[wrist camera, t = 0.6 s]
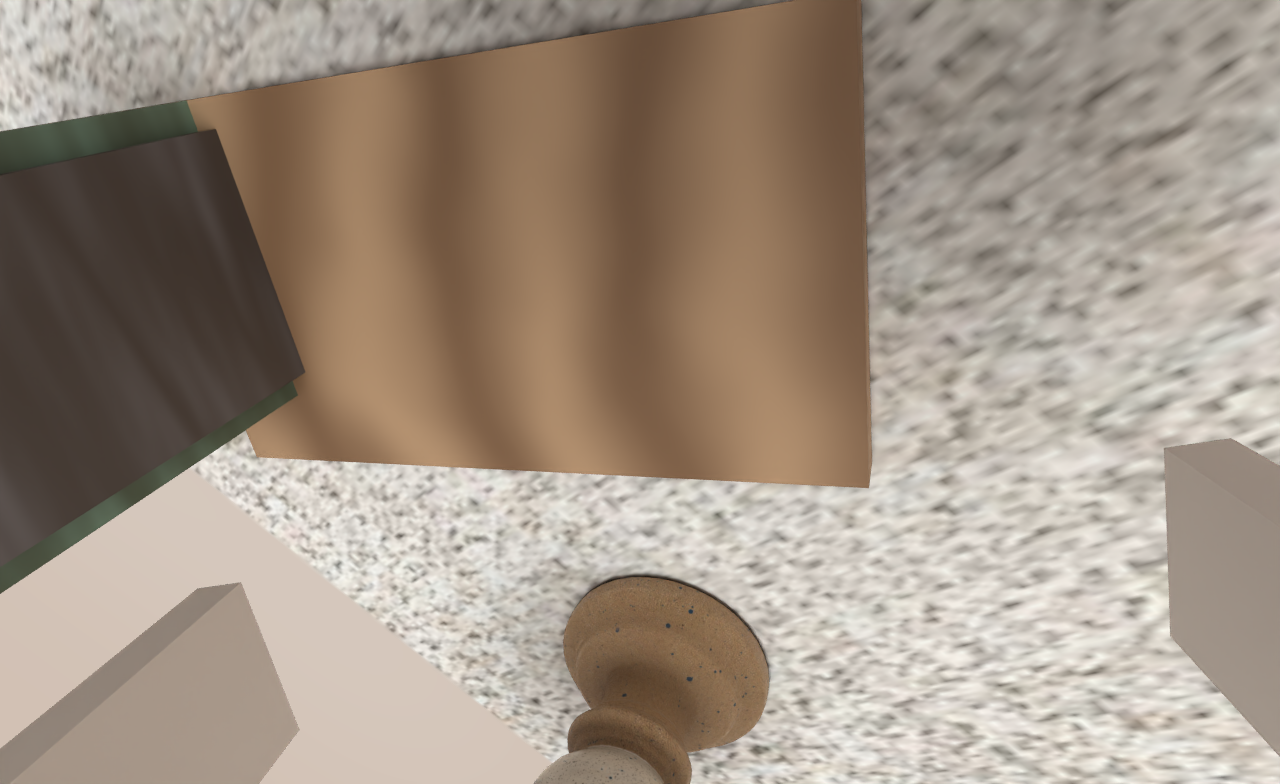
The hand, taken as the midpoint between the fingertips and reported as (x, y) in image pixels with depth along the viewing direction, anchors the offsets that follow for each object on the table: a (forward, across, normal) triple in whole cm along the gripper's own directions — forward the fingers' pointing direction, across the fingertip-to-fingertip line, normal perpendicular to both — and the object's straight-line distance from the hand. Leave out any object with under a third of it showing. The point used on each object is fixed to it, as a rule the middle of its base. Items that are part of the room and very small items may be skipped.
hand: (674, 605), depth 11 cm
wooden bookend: (+16, -7, +4) cm, 18 cm away
